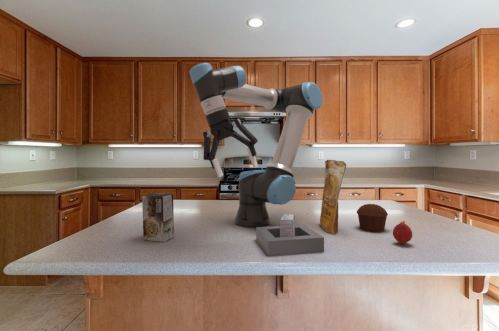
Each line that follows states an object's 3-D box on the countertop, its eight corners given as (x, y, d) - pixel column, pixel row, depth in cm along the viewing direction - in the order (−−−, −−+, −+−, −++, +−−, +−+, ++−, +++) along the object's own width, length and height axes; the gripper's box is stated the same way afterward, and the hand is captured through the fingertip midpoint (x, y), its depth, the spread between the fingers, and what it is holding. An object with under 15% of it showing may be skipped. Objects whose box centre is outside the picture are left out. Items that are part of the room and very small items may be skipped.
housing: (256, 239, 98) (256, 227, 98) (303, 236, 102) (303, 224, 102) (268, 256, 83) (268, 241, 82) (324, 251, 86) (324, 237, 86)
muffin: (392, 229, 112) (392, 204, 111) (381, 235, 104) (382, 208, 104) (362, 224, 120) (363, 201, 120) (351, 229, 113) (351, 204, 112)
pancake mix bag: (332, 223, 122) (332, 159, 121) (346, 235, 103) (347, 160, 102) (316, 222, 122) (317, 159, 121) (328, 235, 103) (329, 160, 102)
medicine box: (293, 246, 88) (294, 219, 88) (279, 245, 89) (279, 219, 88) (294, 239, 96) (294, 214, 95) (281, 238, 97) (281, 213, 96)
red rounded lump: (411, 248, 89) (412, 223, 89) (391, 245, 92) (392, 221, 92) (412, 243, 94) (412, 220, 94) (393, 240, 97) (393, 218, 97)
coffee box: (174, 237, 102) (174, 193, 101) (163, 242, 96) (163, 196, 95) (154, 234, 105) (153, 192, 104) (142, 239, 99) (141, 194, 98)
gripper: (179, 125, 93) (202, 183, 96) (244, 98, 83) (268, 164, 86) (191, 122, 100) (212, 177, 103) (252, 97, 90) (274, 158, 93)
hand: (237, 171), depth 94 cm, fingers open, 13 cm apart
